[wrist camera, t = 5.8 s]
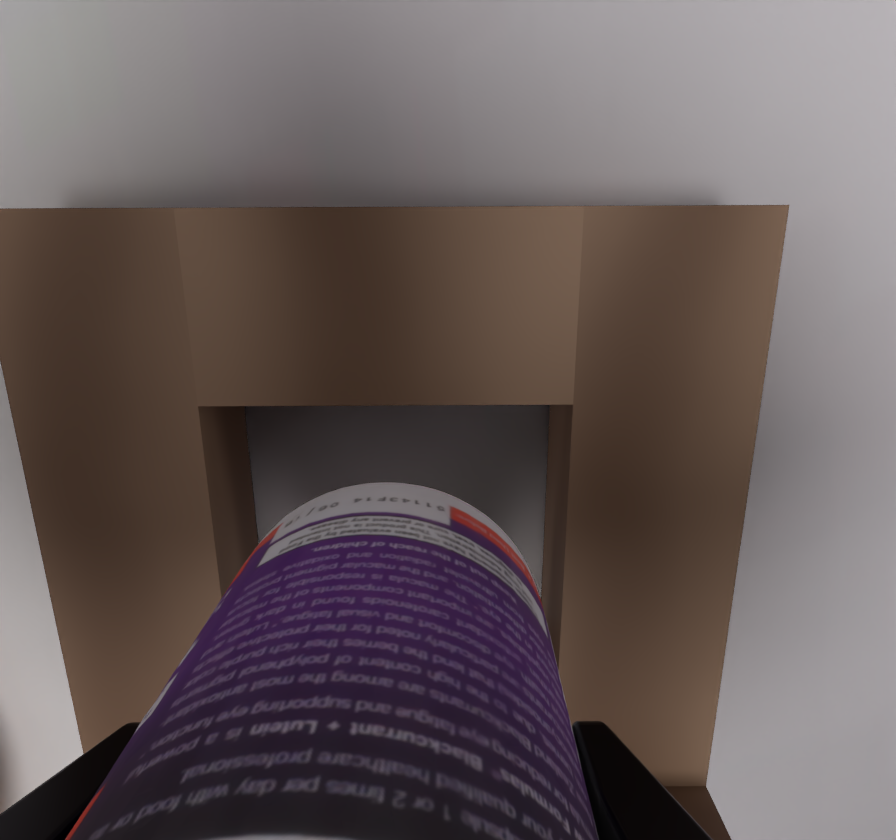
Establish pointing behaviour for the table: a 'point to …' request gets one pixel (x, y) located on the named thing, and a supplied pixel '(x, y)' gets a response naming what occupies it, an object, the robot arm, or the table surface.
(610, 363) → the socket
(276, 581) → the pill bottle
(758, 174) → the table surface
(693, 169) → the table surface
